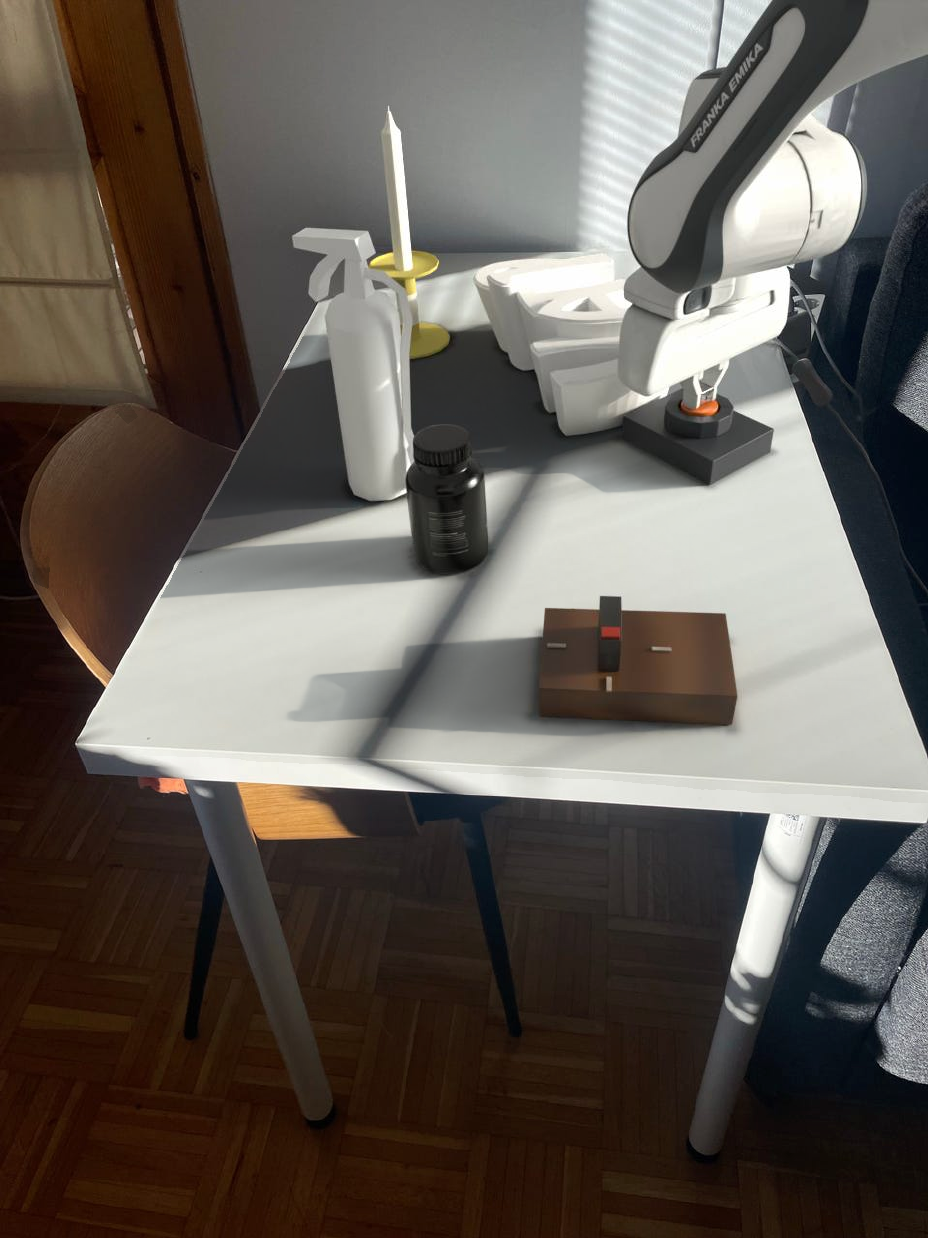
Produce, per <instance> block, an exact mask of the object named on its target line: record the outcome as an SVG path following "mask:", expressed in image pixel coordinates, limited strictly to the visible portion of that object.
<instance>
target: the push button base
mask: <svg viewBox="0 0 928 1238" xmlns="http://www.w3.org/2000/svg"><path fill="white" fill-rule="evenodd" d="M683 392H684V389H683V388H682V387H681V388H680V389H678V390H675V391H674V392H671V393H669V394H667V396H665V397H663V398H661V399H658V400H656V401H654V402H652V403H650V404H648V405H646V406H644V407H642V408H639V409H637V410H635V411H633V412H631V413H629V414H627V415H625V416H624V417H623V425H622V432H621V433H622V436H621V439H622V440H624V441H625V442H627V443H629V444H631V445H633V446H635V447H637V448H638V449H641V450H643V451H645V452H647V453H648V454H650V455H651V456H654V457H656V458H657V459H660V460H661V461H663V462H665V463H667V464H669V465H671V466H673V467H675V468H677V469H679V470H681V471H683V472H684V473H686V474H688V475H690V476H692V477H693V478H696V479H698V480H699V481H701V482H703V483H705V484H707V485H709V486H711V485H713V484H715V483H716V482H718V481H720V480H722V479H723V478H726V477H727V476H729V475H731V474H733V473H735V472H736V471H738V470H740V469H742V468H744V467H746V466H748V465H750V464H751V463H753V462H755V461H756V460H758V459H760V458H762V457H764V456H766V455H768V454H770V453H771V448H772V445H773V444H772V443H773V438H774V433H775V428H773V427H772V426H769V425H767V424H764V423H763V422H760V421H758V420H756V419H753V418H751V417H750V416H747V415H745V414H743V413H740V412H738V411H737V410H734V408H735V406H734V405H733V404H732V402H731V401H730V400H729V398H727V397H725V396H723V395H722V394H721V395H720V394H719V393H716V399H715V401H716V402H717V404H718V410H717V413H716V414H714V415H712V416H706V417H697V416H690V415H687V414H685V413H683V412H681V411H680V410H681V403H682V401H683Z"/></svg>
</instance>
